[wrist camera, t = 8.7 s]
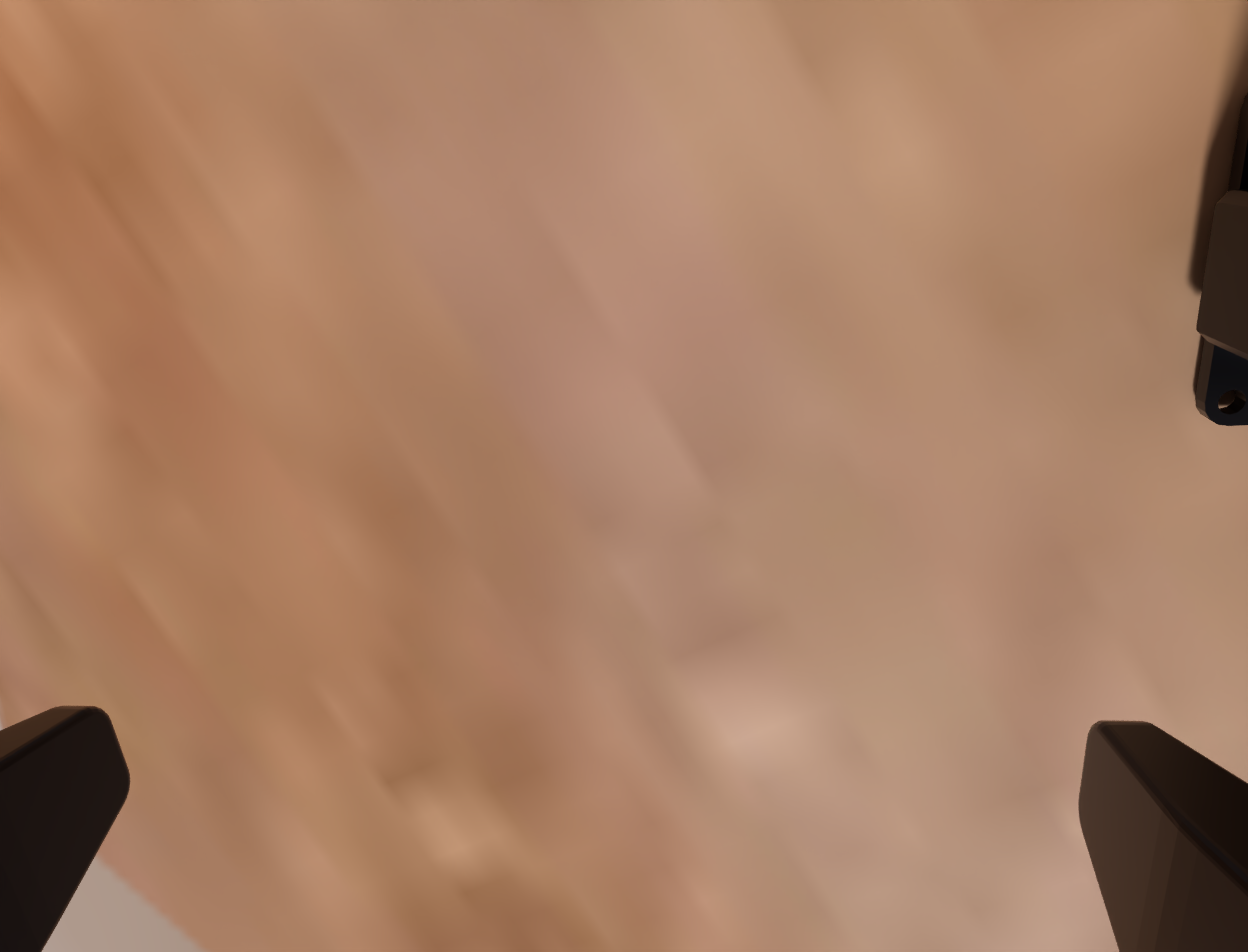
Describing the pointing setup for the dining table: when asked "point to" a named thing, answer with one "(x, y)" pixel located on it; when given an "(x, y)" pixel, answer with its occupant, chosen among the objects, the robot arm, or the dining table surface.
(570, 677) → the dining table surface
